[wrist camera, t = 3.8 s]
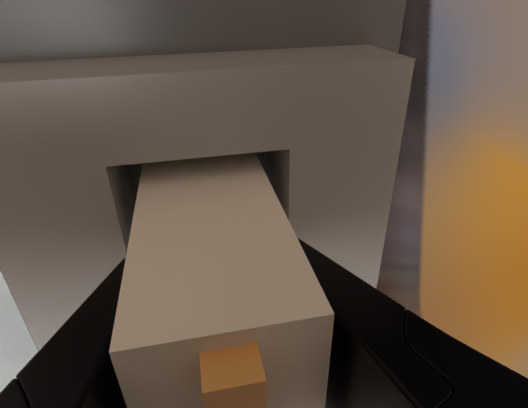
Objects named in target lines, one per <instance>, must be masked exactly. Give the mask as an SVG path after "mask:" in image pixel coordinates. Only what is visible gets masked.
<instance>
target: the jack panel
mask: <svg viewBox="0 0 528 408" xmlns="http://www.w3.org/2000/svg"><path fill="white" fill-rule="evenodd" d="M405 7H406V0H0V270H1V272H2V275H3V277H4V279H5V281H6V283H7V285H8V287H9V290H10V292H11V294H12V296H13V298H14V300H15V302H16V305H17V307H18V309H19V311H20V313H21V315H22V318H23V320H24V322H25V324H26V326H27V328H28V330H29V333H30V335H31V337H32V339H33V341H34V343H35V345H36V348H37V350H38V351H39V350H40V349H41V348H42V347H43V346H44V345H45V344H46V343H47V341H48V340H49V339H50V338H51V337H52V336H53V335H54V334H55V333H56V332H57V331H58V329H59V328H60V327H61V326H62V325H63V324H64V323H65V322H66V321H67V320H68V319H69V317H70V316H71V315H72V314H73V313H74V312H75V311H76V310H77V309H78V308H79V307H80V305H81V304H82V303H83V302H84V301H85V300H86V299H87V298H88V297H89V296H90V295H91V293H92V292H93V291H94V290H95V289H96V288H97V287H98V286H99V285H100V284H101V283H102V281H103V280H104V279H105V278H106V277H107V276H108V275H109V274H110V273H111V272H112V271H113V269H114V268H115V267H116V266H117V265H118V264H119V263H120V262H121V261H122V260H123V259H124V258H126V254H127V248H128V243H129V237H130V231H131V226H132V220H133V214H134V209H135V203H136V198H137V192H138V186H139V181H140V175H141V169H142V164H143V163H151V162H161V161H172V160H182V159H192V158H203V157H213V156H224V155H234V154H245V153H256V155H257V157H258V159H259V161H260V163H261V165H262V167H263V169H264V171H265V173H266V175H267V177H268V179H269V181H270V183H271V185H272V188H273V190H274V192H275V194H276V196H277V198H278V200H279V202H280V204H281V206H282V208H283V210H284V212H285V214H286V216H287V218H288V220H289V222H290V224H291V226H292V228H293V230H294V232H295V234H296V236H297V238H299V239H301V240H302V241H304V242H305V243H307V244H308V245H310V246H311V247H313V248H314V249H316V250H317V251H319V252H321V253H322V254H324V255H325V256H327V257H328V258H330V259H331V260H333V261H334V262H336V263H337V264H339V265H341V266H342V267H344V268H345V269H347V270H348V271H350V272H351V273H353V274H354V275H356V276H357V277H359V278H360V279H362V280H364V281H365V282H367V283H368V284H370V285H371V286H373V287H374V288H377V282H378V276H379V270H380V264H381V258H382V253H383V247H384V241H385V235H386V229H387V223H388V217H389V211H390V205H391V199H392V194H393V188H394V182H395V176H396V170H397V164H398V158H399V152H400V146H401V141H402V135H403V129H404V123H405V117H406V111H407V105H408V99H409V93H410V87H411V82H412V76H413V70H414V64H415V58H412V57H409V56H405V55H402V54H399V48H400V41H401V34H402V28H403V21H404V14H405Z"/></svg>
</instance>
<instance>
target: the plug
mask: <svg viewBox="0 0 528 408" xmlns="http://www.w3.org/2000/svg"><path fill="white" fill-rule="evenodd" d="M333 324H334V312H333V310H332V308H331V306H330V304H329V302H328V300H327V298H326V296H325V294H324V291H323V289H322V287H321V285H320V283H319V281H318V279H317V277H316V275H315V273H314V271H313V269H312V267H311V265H310V263H309V261H308V259H307V257H306V255H305V253H304V251H303V249H302V247H301V245H300V243H299V241H298V238H297V236H296V234H295V232H294V230H293V228H292V226H291V224H290V222H289V220H288V218H287V216H286V214H285V212H284V210H283V208H282V206H281V204H280V202H279V200H278V198H277V196H276V194H275V192H274V190H273V188H272V185H271V183H270V181H269V179H268V177H267V175H266V173H265V171H264V169H263V167H262V165H261V163H260V161H259V159H258V157H257V155H256V153H245V154H234V155H224V156H213V157H203V158H192V159H182V160H172V161H161V162H151V163H143V164H142V169H141V175H140V181H139V186H138V192H137V198H136V203H135V209H134V214H133V220H132V226H131V231H130V237H129V243H128V248H127V254H126V259H125V265H124V271H123V276H122V282H121V288H120V293H119V299H118V304H117V310H116V316H115V321H114V327H113V333H112V338H111V344H110V349H109V355H110V358H111V361H112V364H113V367H114V370H115V373H116V376H117V379H118V382H119V385H120V388H121V391H122V394H123V397H124V400H125V403H126V406H127V408H325V402H326V392H327V383H328V373H329V363H330V353H331V343H332V334H333Z"/></svg>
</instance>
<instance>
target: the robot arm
mask: <svg viewBox="0 0 528 408" xmlns="http://www.w3.org/2000/svg"><path fill="white" fill-rule="evenodd" d="M298 241H299V243H300V245H301V247H302V249H303V251H304V253H305V255H306V257H307V259H308V261H309V263H310V265H311V267H312V269H313V271H314V273H315V275H316V277H317V279H318V281H319V283H320V285H321V287H322V289H323V291H324V294H325V296H326V298H327V300H328V302H329V304H330V306H331V308H332V310H333V312H334V324H333V334H332V343H331V353H330V363H329V373H328V383H327V392H326V402H325V408H528V378H526V377H524V376H522V375H520V374H519V373H517V372H515V371H513V370H511V369H509V368H508V367H506V366H504V365H502V364H500V363H498V362H496V361H495V360H493V359H491V358H489V357H487V356H486V355H483V354H482V353H480V352H478V351H476V350H475V349H473V348H471V347H469V346H467V345H466V344H464V343H462V342H460V341H458V340H457V339H455V338H453V337H451V336H450V335H448V334H446V333H445V332H443V331H442V330H440V329H438V328H436V327H435V326H433V325H432V324H430V323H428V322H427V321H425V320H424V319H422V318H421V317H419V316H418V315H416V314H415V313H413V312H411V311H410V310H406V309H405V307H404V306H402V305H400V304H399V303H397V302H396V301H394V300H393V299H391V298H390V297H388V296H387V295H385V294H384V293H382V292H380V291H379V290H377V289H376V288H374V287H373V286H371V285H370V284H368V283H367V282H365V281H364V280H362V279H360V278H359V277H357V276H356V275H354V274H353V273H351V272H350V271H348V270H347V269H345V268H344V267H342V266H341V265H339V264H337V263H336V262H334V261H333V260H331V259H330V258H328V257H327V256H325V255H324V254H322V253H321V252H319V251H317V250H316V249H314V248H313V247H311V246H310V245H308V244H307V243H305V242H304V241H302V240H301V239H299V238H298ZM125 259H126V258H124V259H123V260H122V261H121V262H120V263H119V264H118V265H117V266H116V267H115V268H114V269H113V271H112V272H111V273H110V274H109V275H108V276H107V277H106V278H105V279H104V280H103V281H102V283H101V284H100V285H99V286H98V287H97V288H96V289H95V290H94V291H93V292H92V293H91V295H90V296H89V297H88V298H87V299H86V300H85V301H84V302H83V303H82V304H81V305H80V307H79V308H78V309H77V310H76V311H75V312H74V313H73V314H72V315H71V316H70V317H69V319H68V320H67V321H66V322H65V323H64V324H63V325H62V326H61V327H60V328H59V329H58V331H57V332H56V333H55V334H54V335H53V336H52V337H51V338H50V339H49V340H48V341H47V343H46V344H45V345H44V346H43V347H42V348H41V349H40V350H39V351H38V352H37V354H36V355H35V356H34V357H33V358H32V359H31V360H30V361H29V362H28V363H27V364H26V366H25V367H24V368H23V369H22V370H21V371H20V372H19V373H18V374H17V376H16V378H17V379H13V380H12V381H11V382H10V383H9V384H8V385H7V386H6V387H5V388H4V389H3V390H2V391H1V393H0V408H127V406H126V403H125V400H124V397H123V394H122V391H121V388H120V385H119V382H118V379H117V376H116V373H115V370H114V367H113V364H112V361H111V358H110V355H109V349H110V344H111V338H112V333H113V327H114V321H115V316H116V310H117V304H118V299H119V293H120V288H121V282H122V276H123V271H124V265H125Z"/></svg>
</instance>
